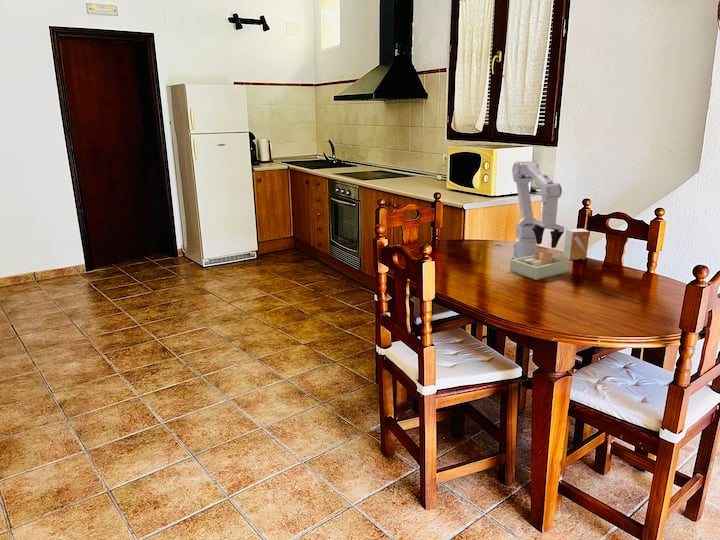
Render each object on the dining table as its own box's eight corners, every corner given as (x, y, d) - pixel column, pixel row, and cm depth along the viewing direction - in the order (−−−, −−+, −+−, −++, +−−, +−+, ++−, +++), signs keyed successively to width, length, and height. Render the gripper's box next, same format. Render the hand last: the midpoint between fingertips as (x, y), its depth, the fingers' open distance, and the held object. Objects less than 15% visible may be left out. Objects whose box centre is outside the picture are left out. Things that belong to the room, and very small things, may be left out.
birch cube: (522, 271, 224) (523, 259, 223) (531, 269, 226) (532, 258, 225) (532, 274, 220) (533, 262, 218) (540, 272, 222) (541, 260, 221)
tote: (509, 271, 226) (510, 259, 225) (539, 264, 235) (540, 253, 234) (536, 279, 215) (537, 267, 214) (566, 272, 224) (567, 261, 222)
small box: (569, 260, 242) (572, 231, 238) (562, 256, 248) (565, 228, 244) (586, 259, 243) (589, 231, 239) (579, 255, 249) (582, 228, 245)
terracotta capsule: (535, 268, 228) (537, 252, 226) (543, 266, 230) (544, 250, 228) (545, 271, 224) (547, 255, 222) (553, 269, 226) (554, 253, 224)
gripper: (528, 211, 226) (526, 243, 229) (557, 217, 214) (553, 250, 218) (540, 210, 229) (537, 241, 233) (569, 215, 217) (565, 248, 221)
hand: (546, 245), depth 225 cm, fingers open, 7 cm apart
